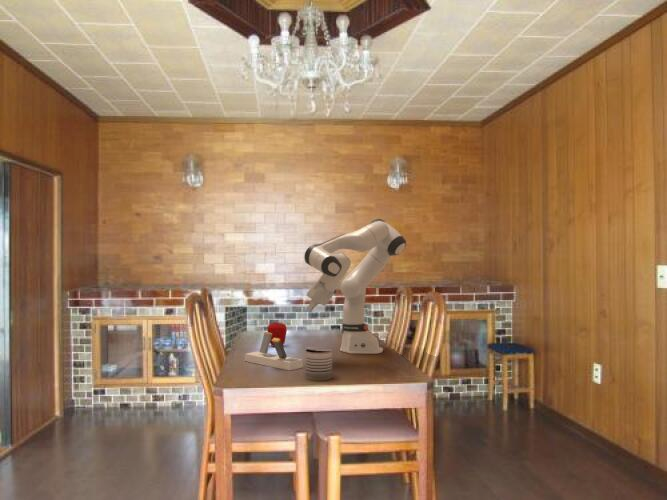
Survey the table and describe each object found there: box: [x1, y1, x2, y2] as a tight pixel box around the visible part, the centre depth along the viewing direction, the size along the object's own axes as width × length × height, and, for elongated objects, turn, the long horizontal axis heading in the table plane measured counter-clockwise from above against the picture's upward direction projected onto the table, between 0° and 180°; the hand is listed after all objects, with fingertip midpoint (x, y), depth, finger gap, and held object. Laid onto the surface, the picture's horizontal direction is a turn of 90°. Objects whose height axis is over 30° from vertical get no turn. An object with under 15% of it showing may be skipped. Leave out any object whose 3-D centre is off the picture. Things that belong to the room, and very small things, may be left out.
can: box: [305, 346, 333, 381], centre depth 218 cm, size 11×11×12 cm
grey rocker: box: [258, 331, 272, 354], centre depth 247 cm, size 2×4×10 cm, turn 50°
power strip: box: [244, 350, 304, 372], centre depth 241 cm, size 8×30×4 cm, turn 50°
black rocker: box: [272, 338, 288, 359], centre depth 235 cm, size 2×4×10 cm, turn 50°
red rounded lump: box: [266, 322, 288, 347], centre depth 288 cm, size 10×10×14 cm
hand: (309, 308), depth 247 cm, fingers closed
